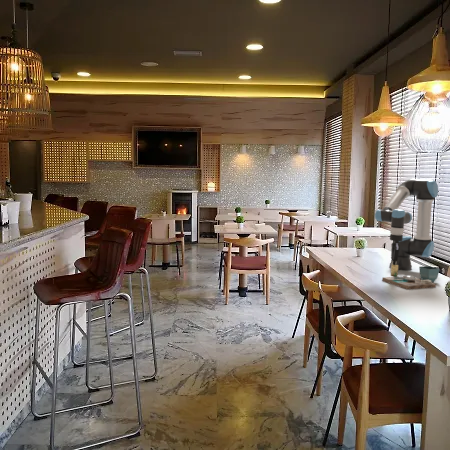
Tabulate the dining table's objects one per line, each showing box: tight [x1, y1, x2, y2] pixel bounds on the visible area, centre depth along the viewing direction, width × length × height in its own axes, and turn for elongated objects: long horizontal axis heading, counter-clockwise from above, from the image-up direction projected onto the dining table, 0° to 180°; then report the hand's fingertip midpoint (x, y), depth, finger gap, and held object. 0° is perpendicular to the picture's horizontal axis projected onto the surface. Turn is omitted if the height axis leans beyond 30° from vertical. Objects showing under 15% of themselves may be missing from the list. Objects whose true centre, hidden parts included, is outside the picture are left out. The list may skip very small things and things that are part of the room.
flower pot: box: [418, 265, 440, 283], centre depth 305 cm, size 9×9×9 cm
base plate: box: [381, 276, 437, 290], centre depth 295 cm, size 22×22×4 cm
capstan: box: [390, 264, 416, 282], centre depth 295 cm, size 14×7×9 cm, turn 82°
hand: (393, 271), depth 300 cm, fingers closed
